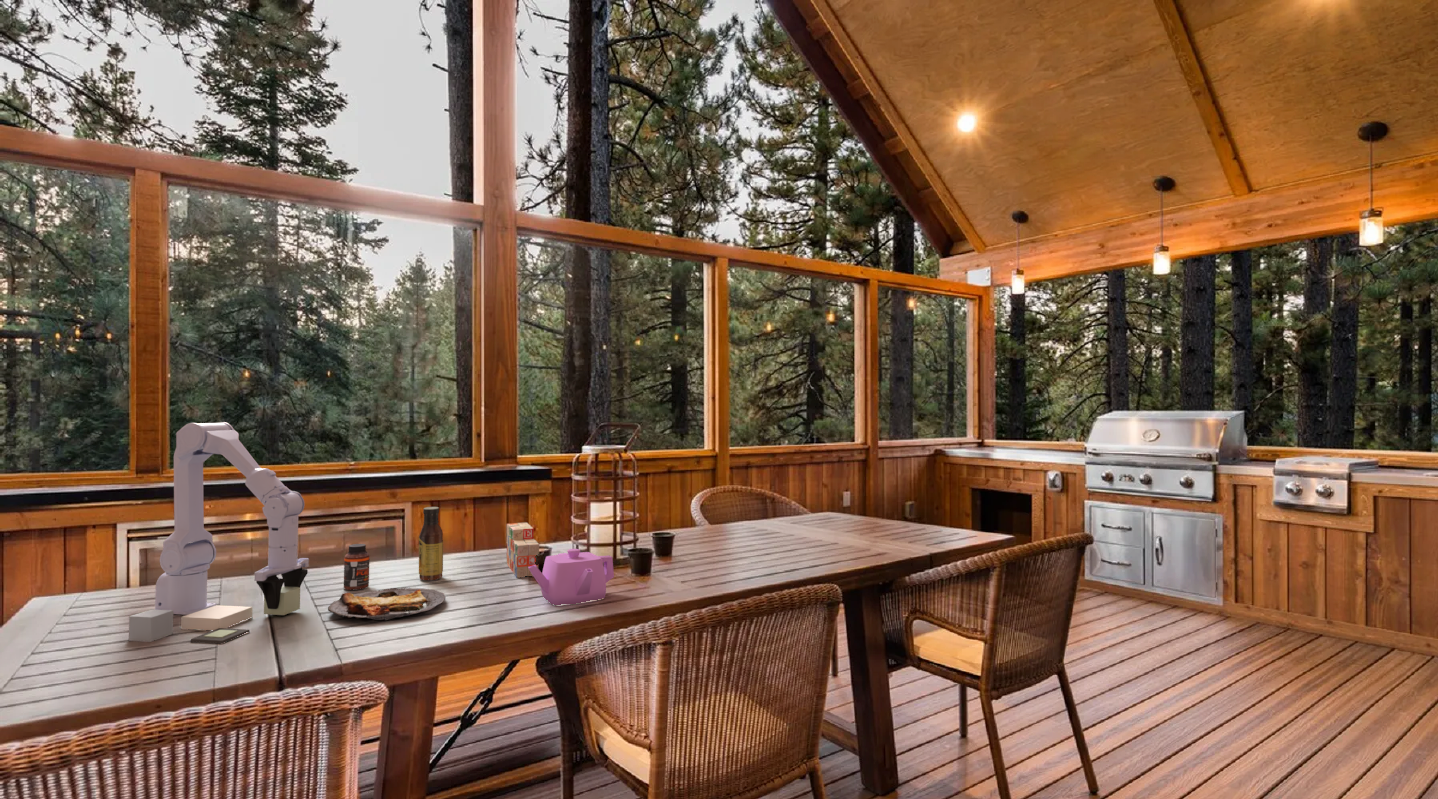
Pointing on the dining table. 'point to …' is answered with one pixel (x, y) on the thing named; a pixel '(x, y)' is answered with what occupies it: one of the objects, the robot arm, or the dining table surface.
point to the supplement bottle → (356, 568)
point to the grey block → (150, 625)
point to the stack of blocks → (521, 548)
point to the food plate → (386, 603)
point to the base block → (216, 617)
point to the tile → (219, 635)
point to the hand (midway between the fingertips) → (282, 605)
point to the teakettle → (574, 577)
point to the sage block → (285, 601)
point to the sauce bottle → (431, 546)
